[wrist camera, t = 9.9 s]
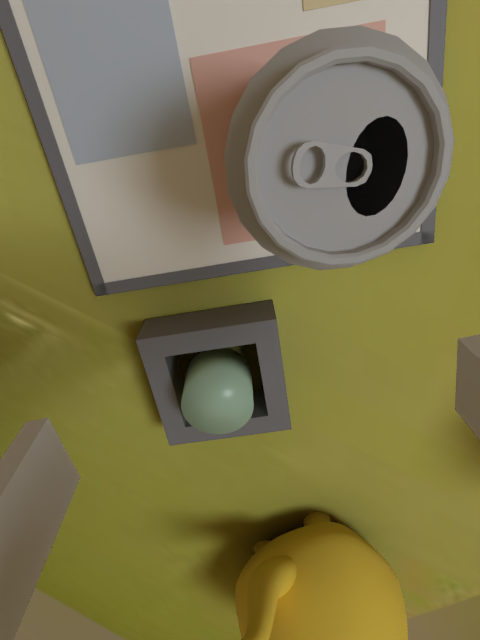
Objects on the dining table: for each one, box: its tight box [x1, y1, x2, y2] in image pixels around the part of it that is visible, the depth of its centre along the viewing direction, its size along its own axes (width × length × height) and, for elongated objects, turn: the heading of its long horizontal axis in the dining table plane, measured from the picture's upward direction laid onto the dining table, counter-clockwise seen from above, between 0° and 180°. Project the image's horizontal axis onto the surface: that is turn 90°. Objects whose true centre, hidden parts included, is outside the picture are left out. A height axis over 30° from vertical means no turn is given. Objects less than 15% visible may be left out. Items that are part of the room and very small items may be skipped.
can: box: [224, 25, 454, 270], centre depth 17 cm, size 8×8×12 cm
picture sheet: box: [0, 0, 447, 296], centre depth 22 cm, size 22×18×1 cm
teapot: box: [235, 512, 408, 640], centre depth 34 cm, size 14×20×13 cm
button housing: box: [136, 300, 291, 445], centre depth 28 cm, size 9×9×3 cm
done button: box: [181, 348, 254, 434], centre depth 27 cm, size 5×5×3 cm
